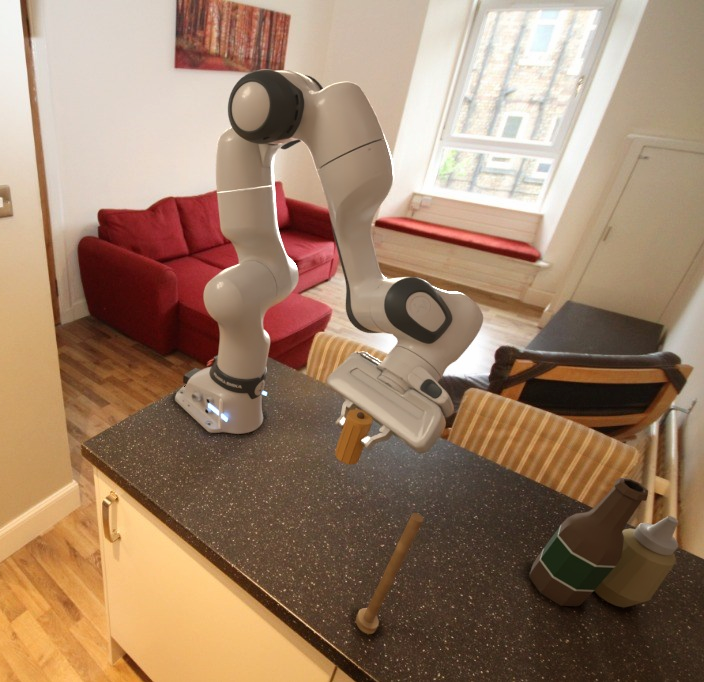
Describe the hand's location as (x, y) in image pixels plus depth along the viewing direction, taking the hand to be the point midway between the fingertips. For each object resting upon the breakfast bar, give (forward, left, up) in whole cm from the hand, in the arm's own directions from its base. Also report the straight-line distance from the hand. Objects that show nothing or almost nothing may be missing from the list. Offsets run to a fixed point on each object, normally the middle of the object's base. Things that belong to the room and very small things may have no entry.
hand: (351, 436), depth 76 cm
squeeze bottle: (+42, +20, -19) cm, 50 cm away
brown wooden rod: (+14, -15, -18) cm, 28 cm away
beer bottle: (+35, +14, -19) cm, 42 cm away
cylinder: (0, +1, -5) cm, 5 cm away
